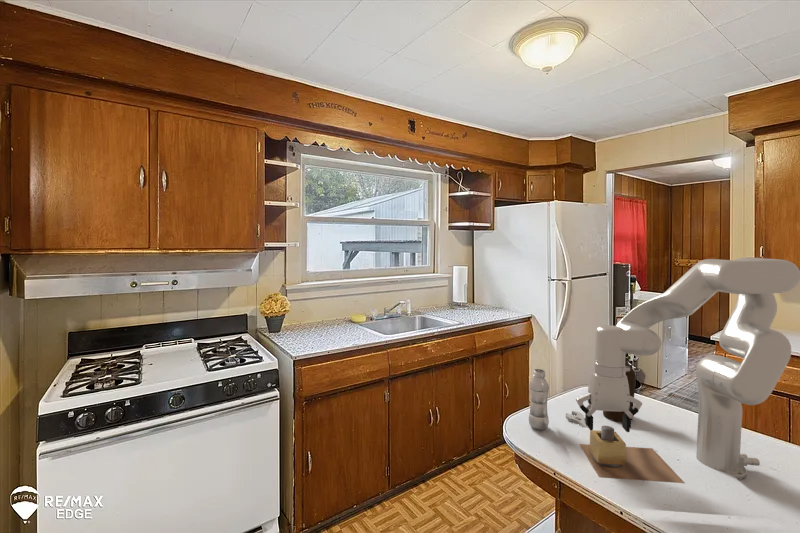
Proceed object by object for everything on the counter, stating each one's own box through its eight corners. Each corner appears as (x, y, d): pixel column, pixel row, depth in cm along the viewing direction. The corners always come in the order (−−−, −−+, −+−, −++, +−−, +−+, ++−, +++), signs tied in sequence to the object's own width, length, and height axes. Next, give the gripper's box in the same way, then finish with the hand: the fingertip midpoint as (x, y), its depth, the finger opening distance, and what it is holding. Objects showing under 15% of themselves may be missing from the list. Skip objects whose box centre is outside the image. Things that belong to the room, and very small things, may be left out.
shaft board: (652, 453, 119) (653, 417, 118) (684, 488, 102) (686, 447, 101) (578, 448, 122) (579, 414, 121) (598, 482, 105) (600, 442, 104)
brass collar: (614, 451, 116) (615, 431, 115) (625, 464, 109) (625, 443, 108) (589, 449, 117) (590, 430, 116) (598, 463, 110) (598, 442, 109)
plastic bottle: (536, 433, 131) (537, 375, 130) (524, 424, 138) (525, 368, 136) (552, 430, 133) (554, 373, 132) (540, 422, 140) (541, 366, 138)
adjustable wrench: (618, 452, 121) (618, 447, 121) (597, 453, 121) (597, 447, 120) (579, 415, 146) (579, 410, 146) (561, 415, 145) (561, 410, 145)
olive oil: (631, 412, 146) (633, 346, 145) (637, 425, 136) (639, 354, 135) (599, 408, 150) (601, 344, 148) (603, 421, 140) (605, 351, 138)
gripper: (636, 366, 113) (634, 424, 115) (573, 364, 116) (571, 421, 117) (649, 375, 106) (646, 437, 107) (581, 373, 108) (579, 433, 110)
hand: (607, 428), depth 112 cm, fingers open, 9 cm apart
